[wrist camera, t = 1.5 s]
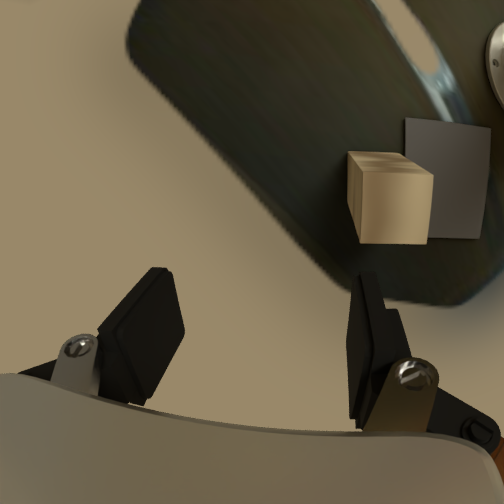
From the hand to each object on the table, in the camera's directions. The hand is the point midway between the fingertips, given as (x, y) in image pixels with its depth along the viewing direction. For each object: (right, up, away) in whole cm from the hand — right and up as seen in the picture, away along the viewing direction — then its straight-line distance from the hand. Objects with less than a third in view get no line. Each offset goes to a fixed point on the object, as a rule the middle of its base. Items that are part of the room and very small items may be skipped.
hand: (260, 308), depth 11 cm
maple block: (+11, +9, +18) cm, 23 cm away
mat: (+19, +9, +16) cm, 27 cm away
